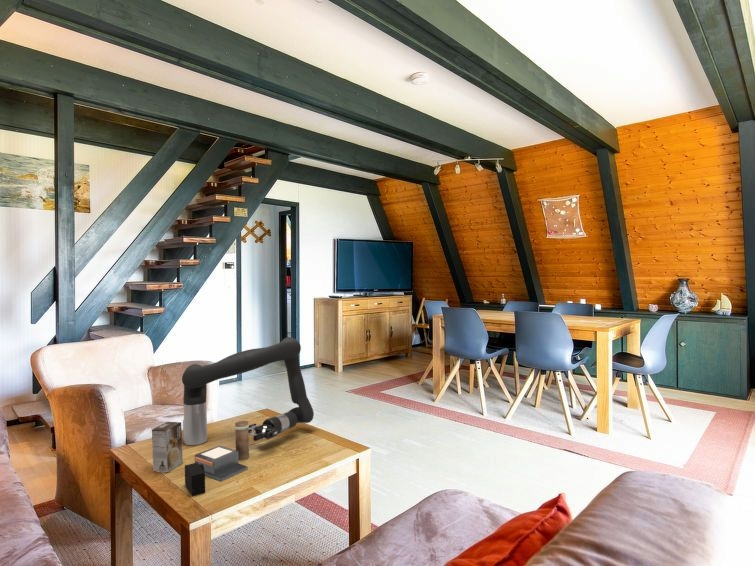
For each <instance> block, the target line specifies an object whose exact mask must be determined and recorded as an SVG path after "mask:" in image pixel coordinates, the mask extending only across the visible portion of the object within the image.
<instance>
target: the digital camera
mask: <svg viewBox="0 0 755 566" xmlns="http://www.w3.org/2000/svg"><path fill="white" fill-rule="evenodd" d="M184 485H185V487H186V489H187V491H188V492H189V494H190V495H191V497H195V496H198V495H203V494H206V476H205V472H204V466H203V464H200V465H199V464H198V463H195V462H193V463H188V464H185V465H184Z"/></svg>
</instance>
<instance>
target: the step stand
mask: <svg viewBox="0 0 755 566" xmlns="http://www.w3.org/2000/svg"><path fill="white" fill-rule="evenodd" d="M193 461H194V463H198V464H199V465H200V464H203V466H204V472H205V477H208V478H211V479H213V480H216V481H219V482H223V481H225V480H227V479H230V478H232V477H234V476H236V475H238V474H240V473H242V472H245V471H247V470H248V468H249V467H248V466H247V465H245V464H241V463H240V462H239V461H240V460H239V458H238V451H236V449H232V448H229V447H226V446H223V445H220V444H219V445H217V446H214V447H212V448H209V449H207V450H204V451H201V452H199V453H196V454H194V460H193Z"/></svg>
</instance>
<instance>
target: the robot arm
mask: <svg viewBox="0 0 755 566" xmlns="http://www.w3.org/2000/svg"><path fill="white" fill-rule="evenodd" d="M301 351H302V346H301V344H300V341H298V340H297V339H296V338H294V337H292V336H287V337H285V338H283V339H281V341H280V342H278V343H275V344H273V345H270V346H266V347H256V348H252V349H251V348H250V349H247V350H242V351H239V352H236V353H233V354H230V355H229V356H226V357H224V358H222V359H220V360H218V361H216V362H213V363H210V364H207V365H200V364H197V363H196V364H195V363H194V364H190V365H189V366H188V367H186V368H185V370H184V372H183V374H182V375H181V381H182V384H183V399H182V400H183V420H182V443H184V444H185V445H187V446H198V445H202V444H205V443H206V442H207V441H208V418H207V417H208V416H207V415H208V414H207V413H208V410H207V409H208V408H207V389H208V387H207V386H208V384H209V383H212V382H215V381H218V380H220V379H225V378H229V377H234V376H238V375H241V374H244V373H248V372H250V371H253V370H256V369H259V368H260V369H261V368H263V367H265V366H267V365H269V364H272V363H276V362H280V361H281V362H282V361H283V362H284V364H285V368H286V374H287V380H288V389H289V393H290V398H291V402H292V403H294V404H295V405H297V407H293V408H291V409H289V410H288V411H287V412H284V413H281V414H277V415H275V416H272V417H269V418H266V419H264V420H263V422H262V423H261V424H258V425H257V423H252V424H250V425H249V428H248V433H249V435H252V437H253V441H254V442H257V441H260V440H271V439H272V438H274V437H277V436H278V435H279V434H281V433H284V432H286V431H287V430H290V429H292V428H294V427H295V426H297V424H298V423H299V424H300V423H301V424H309V423H311V422H312V421H313V419H314V415H315V414H314V409H313V407H312V404H311V402H310V400H309V398H308V395H307V389H306V385H305V381H304V378H303V374H302V373H303V372H302V370H301V366H300V361H299V360H300V358H299V354H300V353H301Z"/></svg>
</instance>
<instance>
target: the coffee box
mask: <svg viewBox="0 0 755 566" xmlns="http://www.w3.org/2000/svg"><path fill="white" fill-rule="evenodd" d="M151 440H152V441H151V443H152V444H151V445H152V467H153V468H152V469H153V472H154V471H160V472H159V473H164V472H168V473H170V472H171V471H172V470H174V469H176V468H177V467H178V466H180V465H181V464H183V462H184V461H183V430H182V422H178V421H166V422H164V423H162V424H160V425H158V426H156V427H154V428H152V429H151ZM169 471H170V472H169Z"/></svg>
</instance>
